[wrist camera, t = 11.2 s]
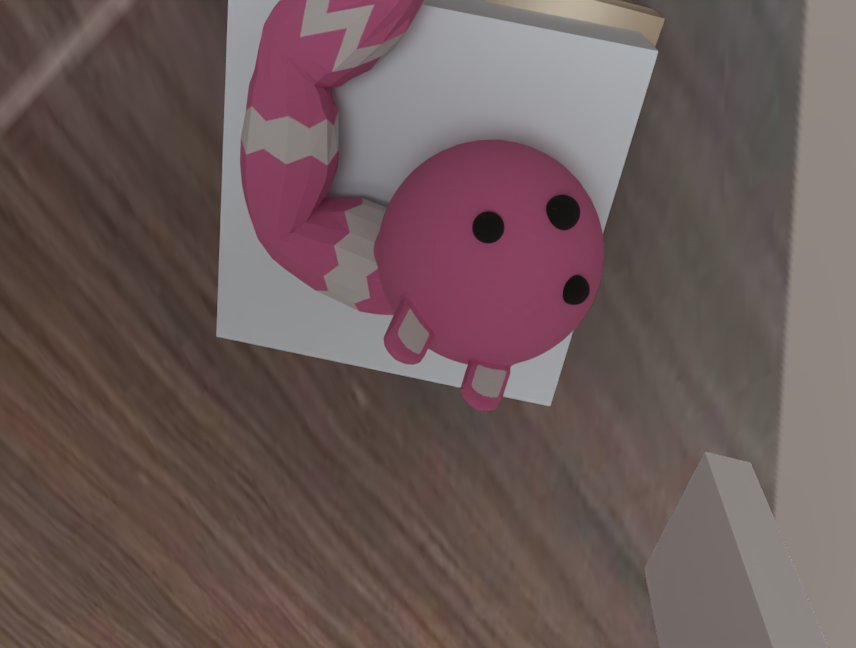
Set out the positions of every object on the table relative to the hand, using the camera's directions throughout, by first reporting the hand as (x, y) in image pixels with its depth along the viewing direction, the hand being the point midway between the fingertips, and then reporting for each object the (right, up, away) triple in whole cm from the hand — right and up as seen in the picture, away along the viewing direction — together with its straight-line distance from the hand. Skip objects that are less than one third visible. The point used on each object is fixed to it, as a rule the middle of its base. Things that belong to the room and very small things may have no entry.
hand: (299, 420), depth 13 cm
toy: (+2, +7, +10) cm, 13 cm away
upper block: (+2, +7, +15) cm, 16 cm away
